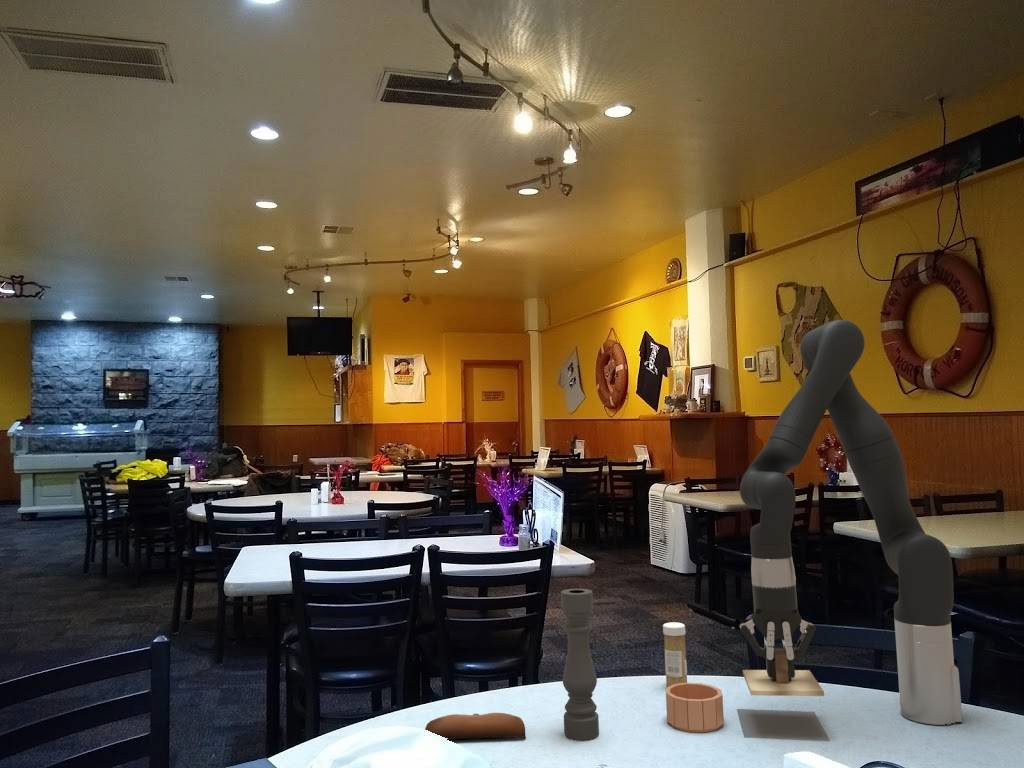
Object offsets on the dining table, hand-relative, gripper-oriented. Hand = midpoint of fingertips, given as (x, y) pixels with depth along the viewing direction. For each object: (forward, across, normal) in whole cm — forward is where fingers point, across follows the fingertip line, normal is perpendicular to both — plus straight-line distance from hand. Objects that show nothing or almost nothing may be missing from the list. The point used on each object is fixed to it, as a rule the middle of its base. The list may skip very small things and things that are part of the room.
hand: (781, 679), depth 136 cm
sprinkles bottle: (+8, +18, -19) cm, 27 cm away
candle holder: (+8, +36, +7) cm, 37 cm away
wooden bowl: (+8, +16, 0) cm, 18 cm away
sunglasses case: (+8, +55, +9) cm, 56 cm away
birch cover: (+1, 0, 0) cm, 1 cm away
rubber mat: (+8, +1, 0) cm, 8 cm away
